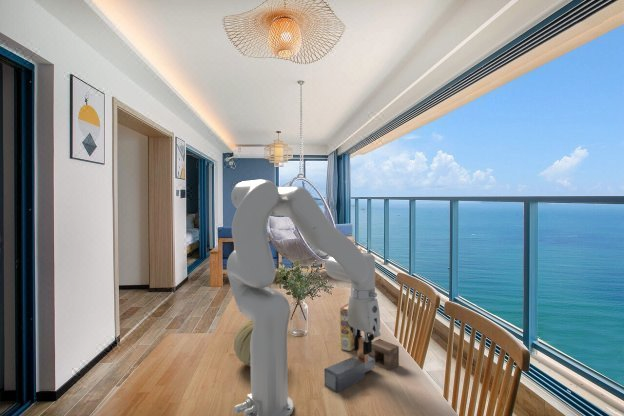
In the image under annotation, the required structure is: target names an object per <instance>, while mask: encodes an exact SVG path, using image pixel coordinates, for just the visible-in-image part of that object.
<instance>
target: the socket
mask: <svg viewBox="0 0 624 416" xmlns="http://www.w3.org/2000/svg"><path fill="white" fill-rule="evenodd" d="M399 347H400V346H399V345H397V344H393V343H391V342H388V341H387V340H383V339H376V340H372V351H371V353H369V356H370V357H372V358H374V359H375V365H378V366H379V367H381V366H382V367H381V368H384V369H385V370H388V371H390V370H393V369H394V368H396V367H398V366H399V364H400V363H399V361H400V360H399V356H400V355H399V353H400V352H399V351H400V350H399ZM397 365H398V366H397Z"/></svg>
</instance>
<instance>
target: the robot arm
mask: <svg viewBox="0 0 624 416" xmlns="http://www.w3.org/2000/svg"><path fill="white" fill-rule="evenodd" d="M230 199H231V203H232V205H233V206H234V208H236V210H235V213H234V215H233V218H232V222H231V237H232V241H233V246H234V250H233V251H232V252H231V253H230V254H229V256H228V257H227V260H226V272H227V273H226V274H227V279H228V281H229V284H230V287H231V292H232V295H233V299H234V301H235V304H236V307H237V309H238V311H239V312H240V313H241V314H242V315H243V316H244V317H246V318H248V320H250V321H251V320H252V321H253V323H254V327H253V332H252V335H251V341H250V356H251V367H250V393H248V394H247V395H246V396H247V397H246V398H247V399H245V400H244V402H242V403H239V404H237V405H234V406H233V407H232V409H233V413H234V414H235V415H239V414H240V413H243V416H291V415H292V413H293V411H294V410H295V409H294V408H295V407H294V405H295V404H294V401H293V399H292V398H291V397H289V396H288V395H289V394H288V390H289V389H288V328H289V322H290V318H291V306H290V302H289V300H288V299H287V297H286V296H285V295H284V294H283V293H282V292H281V291H278V290H276V289H274V288H271V287H269V286H270V285H272V284H273V282H274V280H275V278H276V274H277V272H276V271H277V270H276V269H277V268H276V264H275V262H274V258H273V257H274V256H273V253H272V250H271V246H270V241H269V237H268V231H267V226H268V221H269V218H270V216H279V217H288V218H289V219H290V220H291V222H292V223H293V225H295V227H296V229H297V230H298V231H299V232H300V234H301V235H302V237H303V238H304V239H305V241H306V242H307V243H308V244H309V245H310V246H312V247H313V248H315V249H316V250H319V251H321V252H322V253H324V254H326V255H328V256H329V258H328V259H327V261H326V262H325V265H324V268H325V271H326V273H327V274H326V275H328V276H329V277H331V279H335V280H338V281H341V282H346V283H347V284H348V283H349V284H350V296H349V299H348V303H349V304H348V303H347V304H348V321H347V326H348V327H349V328H350V330H351V332H352V333H353V337H354V348H353V349H354V351H355V352H358V338H359V337H363V336H364V337H363V338H365V341H364V342H363V354H364V355H366V354H368V355H370V353H371V351H372V342H373V341H374V339H375V338H378V337H381V332H380V329H381V315H380V308H379V307H380V306H379V301H378V298H377V297H378V293H377V292H376V257H375V256H374V255H373V254H372V253H368V252H365V253H364V252H362V251H361V250H360V249H359V248H358V246H357V245H356V244H355V243H354V242H353V241H352V240H351V239H350V238H348V236H346V235H345V234H343V233H342V231H340V230H339V229H337V228H336V227H335V226H334V225H333V224H332V222H331V221H330V220H329V219H328V217H327V216H326V214H325V213H324V211H323V210H322V209H321V207H320V206H319V204H318V203H317V201H316V200H315V199H314V196H313V195H312V194H311V193H310V191H309V190H308V189H307V188H306V187H303V186H298V185H297V186H295V185H293V186H278V185H276V183H275V182H273V181H271V180H269V179H254V180H244V181H243V180H242V181H241V182H238V183H237V184H236V185H234V187H233V188H232V190H231V194H230ZM362 332H363V334H364V335H362Z"/></svg>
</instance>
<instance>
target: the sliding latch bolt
mask: <svg viewBox="0 0 624 416" xmlns="http://www.w3.org/2000/svg"><path fill="white" fill-rule="evenodd" d="M364 341H365V337H363V336H362V337H359V338H358V350H357V359H358V360H360V361H363V362H365V373H367V372H369V371H372V370H373V369H375V368H376V364H375V359H374V358H372V357H370V355H369V354H366V355H364V354H363V342H364Z"/></svg>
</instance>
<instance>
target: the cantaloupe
mask: <svg viewBox="0 0 624 416" xmlns="http://www.w3.org/2000/svg"><path fill="white" fill-rule="evenodd" d="M253 327H254V323H253V321H252V320H250V321H248V322H246V323H244V325H242V326H241V327H240V328H239V329H238V331H237V332H236V334H235V335H234V336H235V337H234V342H233V350H234V352H235V355H236V358H237V359H238V360H239V361H240V362H242V363H243V365H245V366H248V367H250V368H251V356H250V341H251V335H252V332H253Z"/></svg>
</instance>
